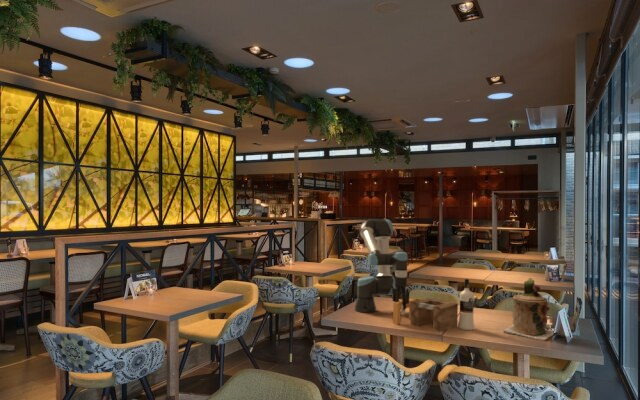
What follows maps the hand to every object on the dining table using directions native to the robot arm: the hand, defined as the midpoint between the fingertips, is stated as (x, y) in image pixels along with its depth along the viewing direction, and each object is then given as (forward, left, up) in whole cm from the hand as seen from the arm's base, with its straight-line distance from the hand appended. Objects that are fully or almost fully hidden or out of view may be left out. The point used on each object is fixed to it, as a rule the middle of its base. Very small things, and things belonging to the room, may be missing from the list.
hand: (400, 313), depth 291 cm
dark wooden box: (+17, +11, -6) cm, 21 cm away
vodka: (+34, +20, -6) cm, 40 cm away
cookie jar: (+63, +42, -6) cm, 76 cm away
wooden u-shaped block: (0, +4, -6) cm, 7 cm away
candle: (-7, +28, -6) cm, 30 cm away
